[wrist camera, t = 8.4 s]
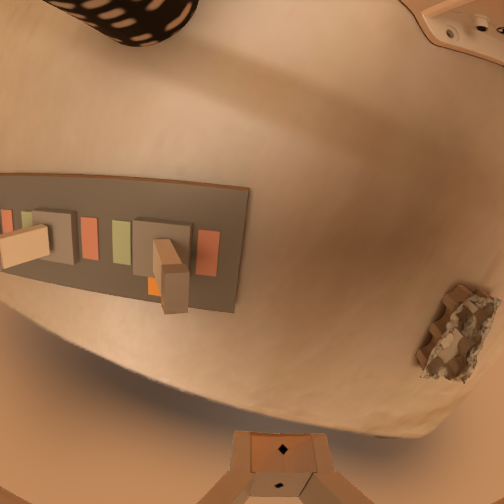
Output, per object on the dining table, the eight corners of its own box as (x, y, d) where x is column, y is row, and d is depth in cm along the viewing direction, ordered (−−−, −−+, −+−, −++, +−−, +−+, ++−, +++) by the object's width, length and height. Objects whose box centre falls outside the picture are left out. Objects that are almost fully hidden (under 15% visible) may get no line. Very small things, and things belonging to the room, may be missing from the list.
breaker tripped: (170, 237, 22) (189, 272, 17) (169, 270, 23) (187, 312, 18) (151, 238, 22) (164, 273, 17) (151, 271, 22) (164, 314, 17)
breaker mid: (47, 225, 21) (-16, 242, 16) (50, 256, 22) (-10, 275, 17) (41, 222, 22) (-19, 238, 17) (44, 251, 23) (-14, 269, 18)
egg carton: (449, 366, 31) (463, 387, 27) (404, 362, 30) (417, 386, 26) (492, 289, 27) (513, 307, 23) (449, 276, 26) (471, 295, 23)
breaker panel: (248, 188, 24) (248, 193, 21) (235, 304, 27) (233, 319, 25) (-36, 174, 23) (-51, 178, 20) (-27, 257, 26) (-40, 265, 24)
